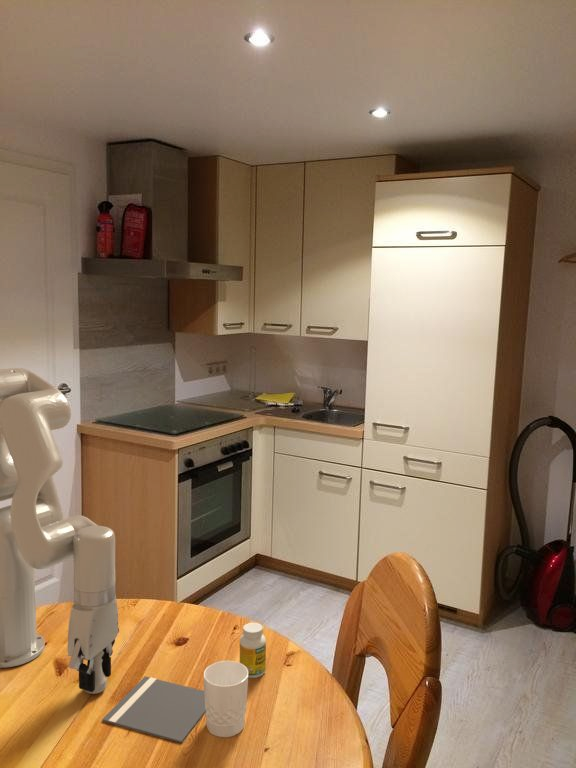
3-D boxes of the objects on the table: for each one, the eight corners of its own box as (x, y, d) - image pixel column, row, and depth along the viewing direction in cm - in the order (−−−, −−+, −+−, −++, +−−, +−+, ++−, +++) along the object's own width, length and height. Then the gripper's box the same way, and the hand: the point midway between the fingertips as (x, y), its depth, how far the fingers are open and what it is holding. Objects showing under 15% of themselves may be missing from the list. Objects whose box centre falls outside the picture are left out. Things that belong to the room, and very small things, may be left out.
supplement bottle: (248, 661, 134) (248, 618, 133) (270, 668, 132) (271, 624, 131) (234, 674, 130) (234, 629, 128) (256, 682, 127) (257, 636, 126)
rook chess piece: (100, 696, 121) (100, 657, 120) (78, 692, 122) (78, 653, 121) (111, 682, 125) (111, 644, 124) (90, 679, 126) (90, 641, 125)
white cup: (207, 743, 109) (207, 689, 108) (200, 714, 117) (200, 663, 116) (252, 735, 112) (252, 682, 110) (242, 707, 119) (243, 657, 118)
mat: (102, 721, 115) (102, 718, 115) (144, 678, 128) (144, 675, 128) (181, 743, 109) (181, 740, 109) (217, 696, 122) (217, 693, 122)
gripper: (104, 571, 130) (105, 655, 132) (47, 609, 114) (49, 703, 117) (136, 578, 127) (136, 663, 130) (83, 617, 111) (83, 713, 114)
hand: (95, 681), depth 123 cm, fingers closed on rook chess piece, 4 cm apart
